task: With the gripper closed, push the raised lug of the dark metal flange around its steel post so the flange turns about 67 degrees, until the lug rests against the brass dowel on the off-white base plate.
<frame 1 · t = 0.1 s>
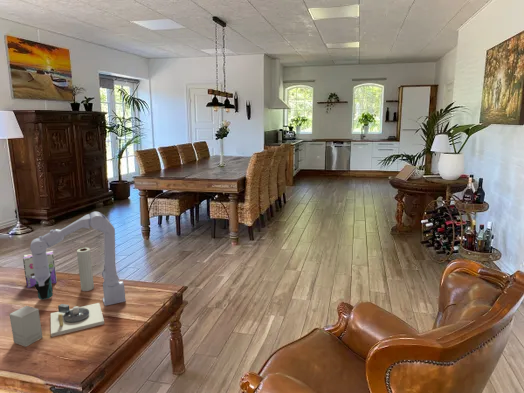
hand: (45, 294, 167), 10 cm above the table, tool pointing down, fingers open, 7 cm apart
supplement box: (28, 340, 151), on the table
flange: (72, 311, 165), point 4 cm above the table, hinge at 0.0°
paper towel roll: (88, 288, 195), on the table
candy box: (42, 283, 201), on the table
base plate: (77, 320, 165), on the table
beverage bottle: (46, 299, 184), on the table
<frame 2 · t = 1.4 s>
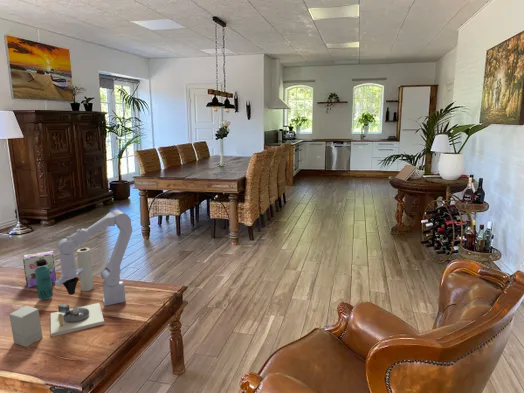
hand: (71, 294, 170), 9 cm above the table, tool pointing down, fingers closed
nothing on the table moved.
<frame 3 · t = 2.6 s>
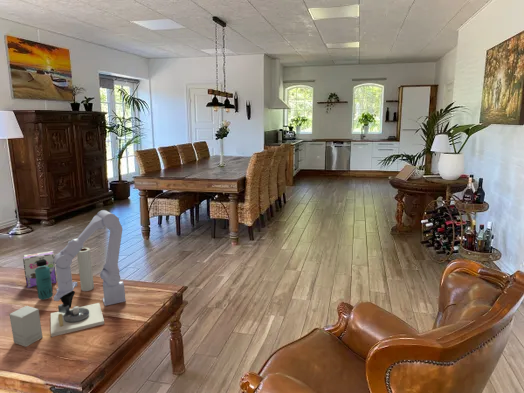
hand: (68, 308, 169), 3 cm above the table, tool pointing down, fingers closed
flange: (72, 311, 165), point 4 cm above the table, hinge at 0.0°, touching gripper
everything else where it was.
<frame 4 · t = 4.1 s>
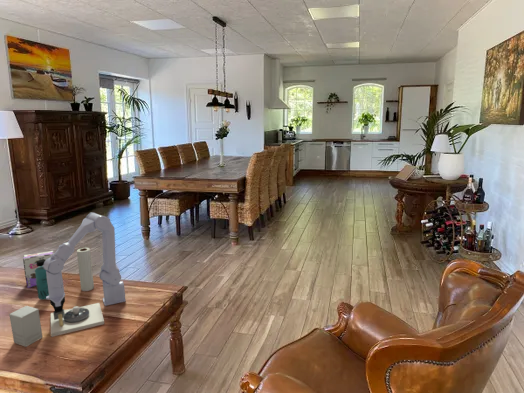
hand: (59, 314, 163), 3 cm above the table, tool pointing down, fingers closed
flange: (71, 312, 164), point 4 cm above the table, hinge at 44.8°, touching gripper
everything else where it was.
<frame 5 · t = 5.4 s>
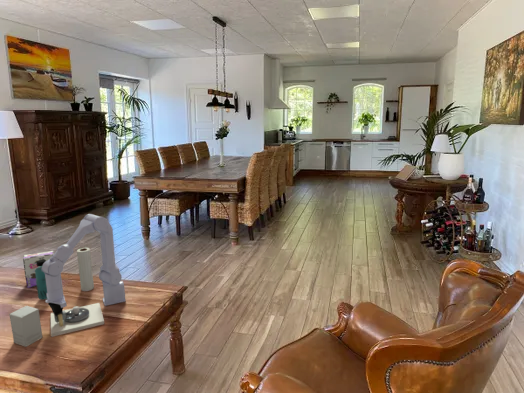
hand: (58, 317, 161), 3 cm above the table, tool pointing down, fingers closed
flange: (72, 313, 163), point 4 cm above the table, hinge at 66.5°, touching gripper
everything else where it was.
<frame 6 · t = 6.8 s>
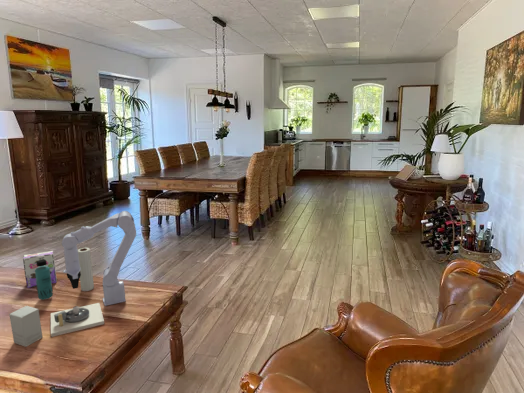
hand: (75, 287, 175), 9 cm above the table, tool pointing down, fingers closed
flange: (72, 313, 163), point 4 cm above the table, hinge at 66.6°
everything else where it was.
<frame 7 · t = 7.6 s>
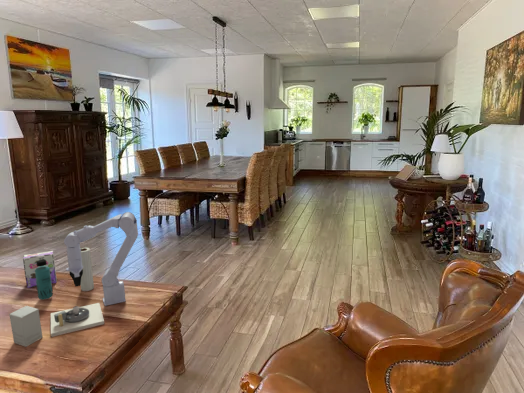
hand: (77, 285, 177), 9 cm above the table, tool pointing down, fingers closed
nothing on the table moved.
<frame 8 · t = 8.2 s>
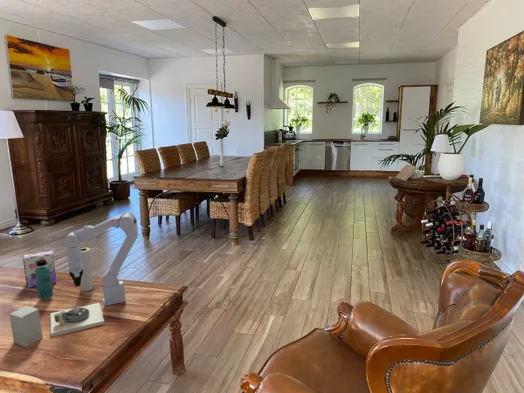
hand: (77, 285, 177), 9 cm above the table, tool pointing down, fingers closed
nothing on the table moved.
at the end: flange at +67° (first picture: +0°); the gripper is holding nothing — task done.
